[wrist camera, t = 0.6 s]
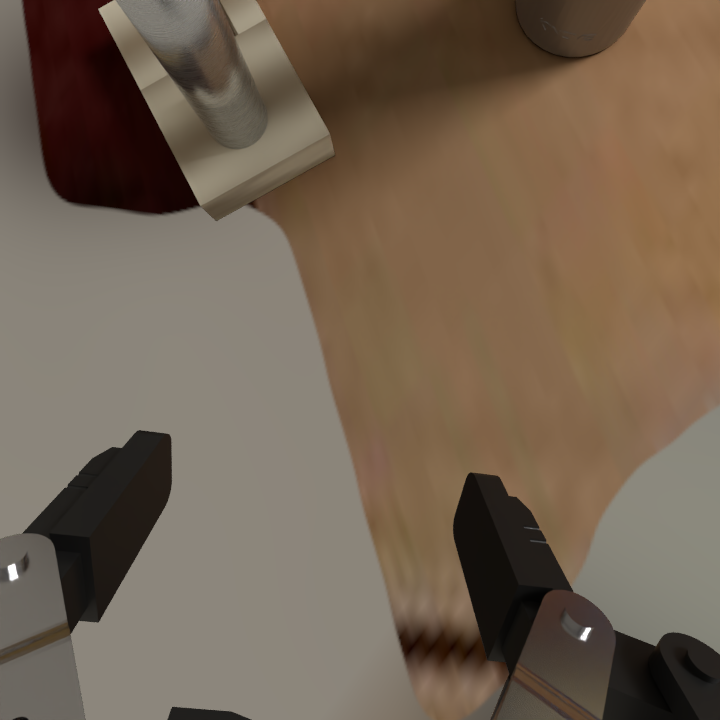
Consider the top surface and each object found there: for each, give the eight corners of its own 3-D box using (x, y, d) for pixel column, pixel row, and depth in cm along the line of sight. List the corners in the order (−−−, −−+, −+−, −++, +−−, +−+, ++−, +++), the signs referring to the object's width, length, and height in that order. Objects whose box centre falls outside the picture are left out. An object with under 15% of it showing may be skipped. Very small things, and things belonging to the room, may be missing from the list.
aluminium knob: (190, 95, 33) (45, -117, 19) (243, 65, 33) (136, -171, 19) (224, 160, 32) (101, -9, 18) (278, 130, 32) (195, -63, 18)
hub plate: (122, 39, 37) (98, 9, 34) (235, -26, 36) (221, -62, 33) (216, 221, 35) (200, 206, 32) (334, 155, 35) (330, 133, 32)
